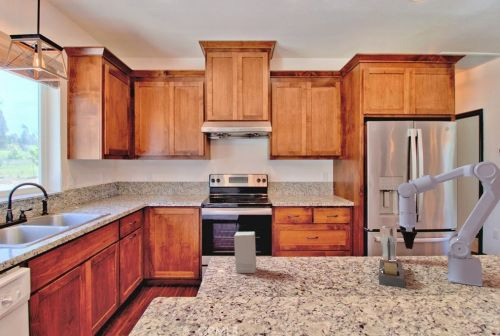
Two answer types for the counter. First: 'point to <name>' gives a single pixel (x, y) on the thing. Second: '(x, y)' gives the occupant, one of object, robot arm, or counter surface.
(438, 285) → the counter surface
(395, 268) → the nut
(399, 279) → the grey piece
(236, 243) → the skincare box
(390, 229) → the beer glass
